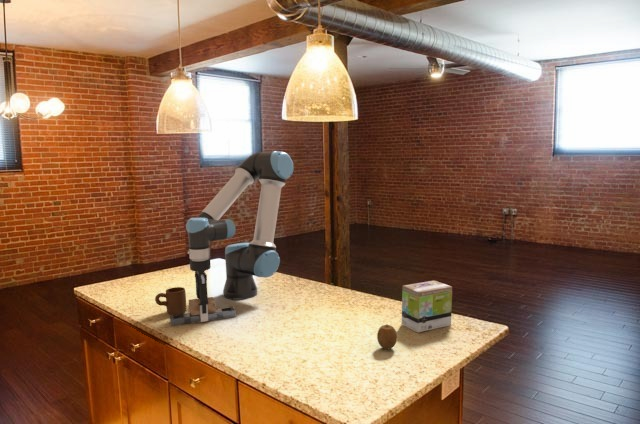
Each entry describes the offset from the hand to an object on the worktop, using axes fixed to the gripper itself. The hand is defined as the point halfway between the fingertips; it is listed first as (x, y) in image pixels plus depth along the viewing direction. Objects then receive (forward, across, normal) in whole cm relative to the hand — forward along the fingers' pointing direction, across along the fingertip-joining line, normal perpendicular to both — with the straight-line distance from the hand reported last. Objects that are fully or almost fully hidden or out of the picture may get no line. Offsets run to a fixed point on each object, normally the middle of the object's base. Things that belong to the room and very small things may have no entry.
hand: (203, 317), depth 180 cm
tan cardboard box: (0, 0, 0) cm, 0 cm away
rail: (+1, 0, 0) cm, 1 cm away
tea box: (+1, +41, +73) cm, 84 cm away
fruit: (+1, +53, +50) cm, 73 cm away
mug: (+1, -13, -11) cm, 17 cm away
